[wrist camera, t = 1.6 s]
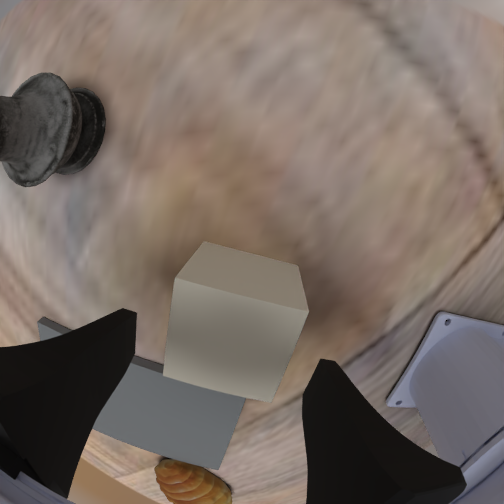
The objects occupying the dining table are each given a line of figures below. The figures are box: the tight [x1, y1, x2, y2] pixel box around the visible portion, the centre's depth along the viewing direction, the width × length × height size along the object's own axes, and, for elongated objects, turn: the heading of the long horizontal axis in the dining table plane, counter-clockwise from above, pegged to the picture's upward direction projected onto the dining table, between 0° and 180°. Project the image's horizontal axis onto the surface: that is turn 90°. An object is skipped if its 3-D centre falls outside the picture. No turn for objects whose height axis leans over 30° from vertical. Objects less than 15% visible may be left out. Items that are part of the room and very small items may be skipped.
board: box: [37, 317, 246, 470], centre depth 19 cm, size 16×11×1 cm
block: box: [163, 241, 309, 403], centre depth 14 cm, size 5×5×5 cm
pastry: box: [155, 459, 232, 504], centre depth 21 cm, size 9×7×4 cm
